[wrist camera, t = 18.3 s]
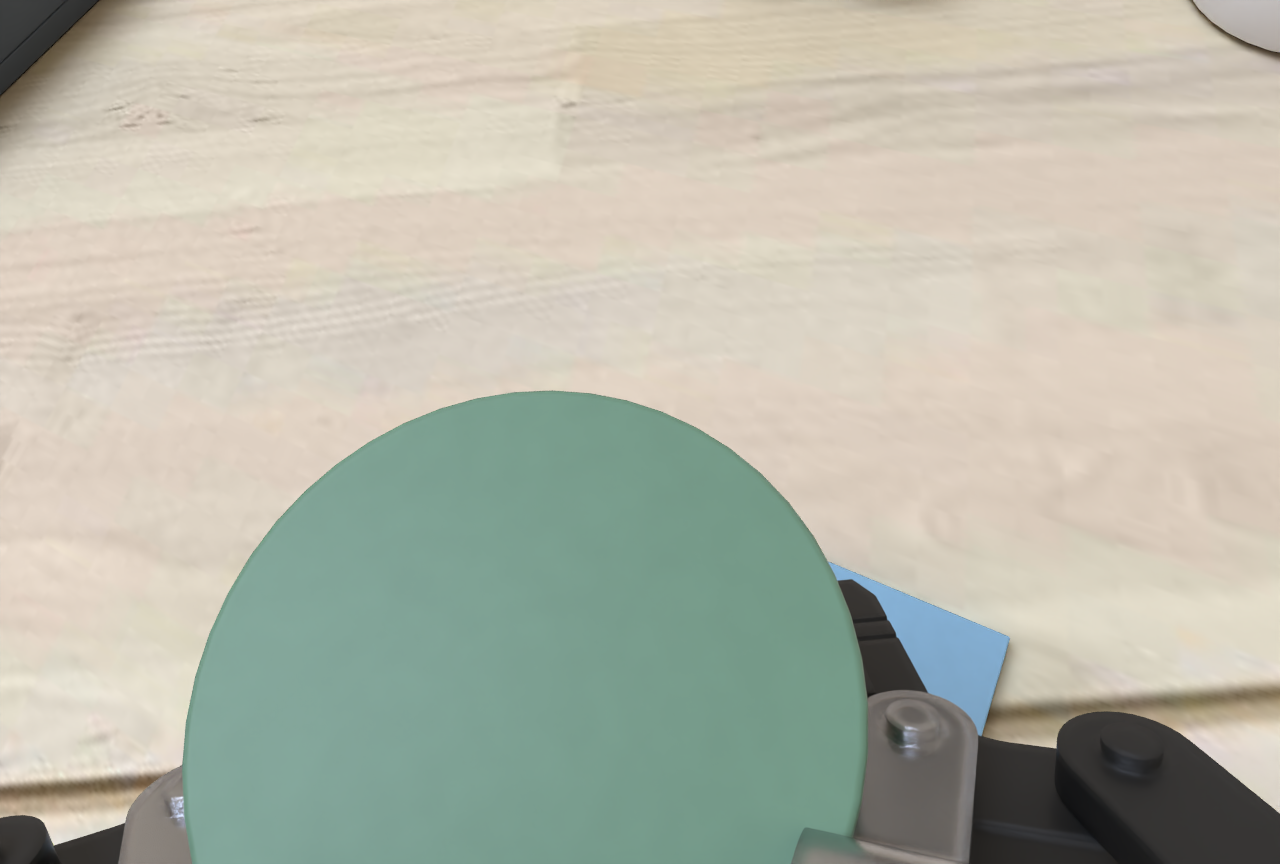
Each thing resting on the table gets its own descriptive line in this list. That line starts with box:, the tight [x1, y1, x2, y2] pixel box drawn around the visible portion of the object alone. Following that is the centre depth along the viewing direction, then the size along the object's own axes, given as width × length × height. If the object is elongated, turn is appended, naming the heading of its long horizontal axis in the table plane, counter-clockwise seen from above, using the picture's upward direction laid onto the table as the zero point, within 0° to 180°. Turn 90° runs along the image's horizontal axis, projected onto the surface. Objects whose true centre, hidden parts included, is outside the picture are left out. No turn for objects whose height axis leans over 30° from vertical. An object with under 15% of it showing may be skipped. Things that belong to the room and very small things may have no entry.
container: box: [182, 391, 868, 864], centre depth 12 cm, size 6×6×10 cm
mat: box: [828, 562, 1010, 736], centre depth 20 cm, size 14×14×1 cm
